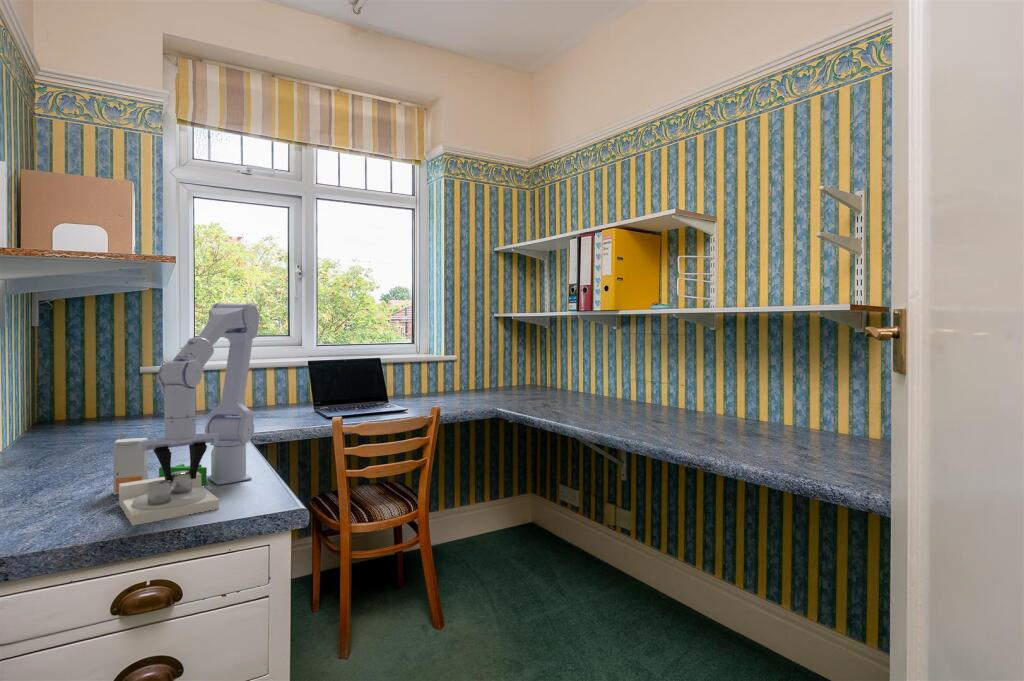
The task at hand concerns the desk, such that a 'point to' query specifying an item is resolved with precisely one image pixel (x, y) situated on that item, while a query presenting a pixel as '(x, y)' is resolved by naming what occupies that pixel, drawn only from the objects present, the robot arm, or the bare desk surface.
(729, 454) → the desk surface
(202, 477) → the pipe clamp
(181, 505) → the scale
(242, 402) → the robot arm
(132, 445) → the skincare box
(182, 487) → the cylinder
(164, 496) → the cylinder
